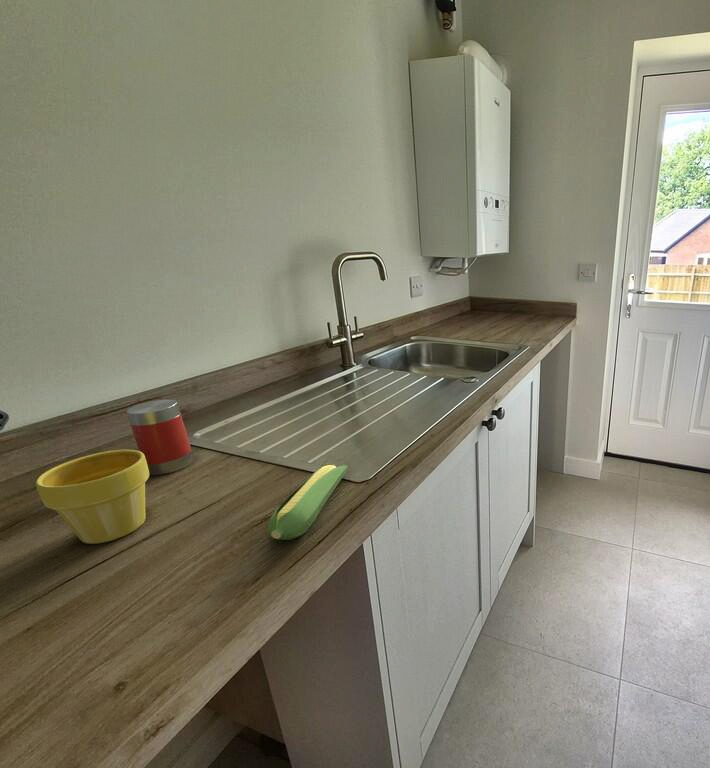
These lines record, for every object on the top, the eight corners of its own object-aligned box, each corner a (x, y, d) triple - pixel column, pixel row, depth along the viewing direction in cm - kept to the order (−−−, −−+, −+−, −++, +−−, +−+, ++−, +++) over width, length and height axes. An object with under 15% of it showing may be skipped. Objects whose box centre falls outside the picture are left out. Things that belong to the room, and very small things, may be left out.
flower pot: (159, 497, 64) (140, 441, 61) (167, 527, 57) (147, 466, 54) (64, 528, 57) (38, 466, 54) (60, 566, 50) (30, 498, 47)
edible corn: (259, 551, 53) (252, 521, 51) (329, 470, 72) (325, 447, 70) (299, 551, 52) (293, 521, 51) (358, 470, 71) (355, 447, 70)
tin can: (150, 479, 69) (129, 417, 65) (142, 466, 73) (122, 406, 70) (198, 464, 74) (181, 405, 70) (189, 452, 78) (172, 396, 74)
